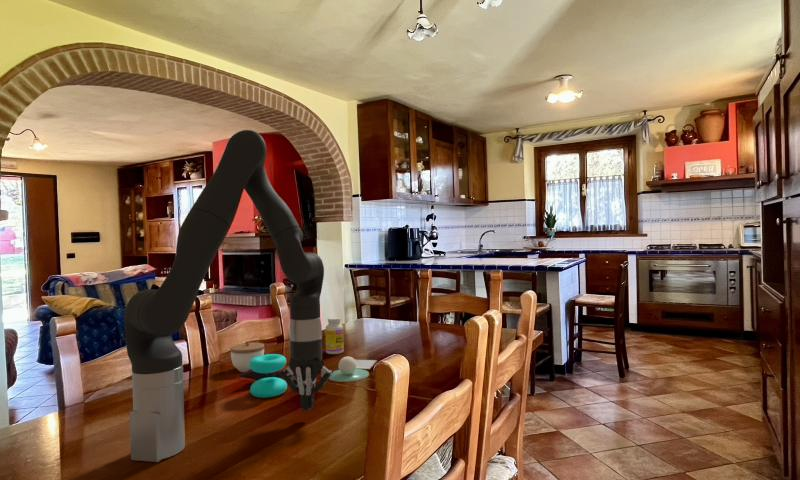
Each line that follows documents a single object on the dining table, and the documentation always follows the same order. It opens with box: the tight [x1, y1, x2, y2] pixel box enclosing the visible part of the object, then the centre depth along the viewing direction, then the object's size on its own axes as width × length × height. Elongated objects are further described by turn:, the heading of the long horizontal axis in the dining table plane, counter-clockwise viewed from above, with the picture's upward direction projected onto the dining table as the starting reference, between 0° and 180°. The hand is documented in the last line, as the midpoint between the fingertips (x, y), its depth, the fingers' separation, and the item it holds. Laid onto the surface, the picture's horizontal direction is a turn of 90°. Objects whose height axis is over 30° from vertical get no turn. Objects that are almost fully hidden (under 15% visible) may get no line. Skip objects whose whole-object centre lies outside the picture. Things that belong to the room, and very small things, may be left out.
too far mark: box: [354, 359, 378, 370], centre depth 156 cm, size 10×10×1 cm
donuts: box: [249, 353, 288, 399], centre depth 129 cm, size 10×10×10 cm
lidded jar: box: [230, 340, 265, 373], centre depth 153 cm, size 11×11×9 cm
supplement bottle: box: [324, 316, 345, 355], centre depth 173 cm, size 7×7×13 cm
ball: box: [338, 356, 357, 375], centre depth 145 cm, size 6×6×6 cm
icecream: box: [239, 369, 283, 381], centre depth 139 cm, size 7×7×15 cm
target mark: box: [328, 369, 370, 383], centre depth 144 cm, size 13×13×1 cm
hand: (307, 409), depth 110 cm, fingers closed
